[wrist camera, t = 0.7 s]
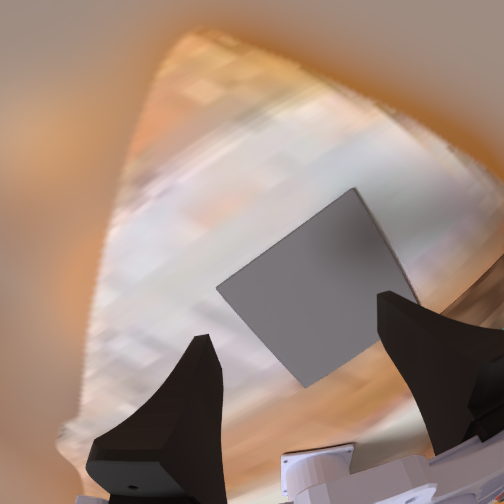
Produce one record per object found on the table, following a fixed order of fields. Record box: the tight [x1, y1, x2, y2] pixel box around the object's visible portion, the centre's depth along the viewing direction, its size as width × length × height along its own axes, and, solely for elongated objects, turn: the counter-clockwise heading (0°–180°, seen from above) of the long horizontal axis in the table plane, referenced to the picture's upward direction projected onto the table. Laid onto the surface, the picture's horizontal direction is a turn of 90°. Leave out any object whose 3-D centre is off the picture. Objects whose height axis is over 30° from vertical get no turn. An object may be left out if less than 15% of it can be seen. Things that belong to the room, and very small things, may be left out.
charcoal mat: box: [216, 189, 417, 388], centre depth 24 cm, size 12×12×1 cm
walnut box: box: [440, 254, 504, 330], centre depth 24 cm, size 13×20×4 cm, turn 37°
